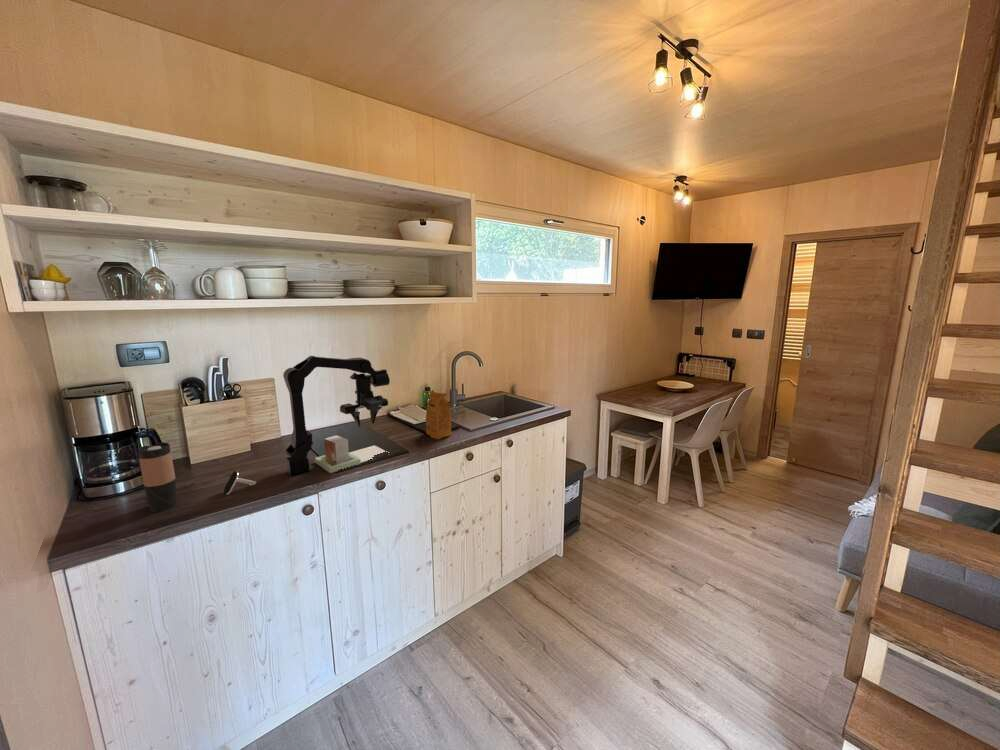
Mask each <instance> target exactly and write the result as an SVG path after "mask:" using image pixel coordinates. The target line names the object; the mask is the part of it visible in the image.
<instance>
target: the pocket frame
mask: <svg viewBox="0 0 1000 750" xmlns="http://www.w3.org/2000/svg"><path fill="white" fill-rule="evenodd" d="M314 463H315V464H316V465H318V466H319V467H321V468H322V469H324V470H325V471H326V472H328V473H330V474H332V473H336V472H339V471H341V470H340V469H342V470H345V469H347V467H348V468H350V467H351V466H352V467H355V466H358V465H360V464H361V459H359V458H358V457H356V456H354V455H353V454H351V453H349V461H347V462H343V463H340V464H337V465H333V466H332V465H330V464H329V463H327V462H326V456H325V454H323V455H321V456H317V457H314ZM354 465H355V466H354ZM361 465H362V464H361ZM344 468H345V469H344ZM338 470H339V471H338Z"/></svg>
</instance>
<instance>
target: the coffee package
mask: <svg viewBox="0 0 1000 750" xmlns="http://www.w3.org/2000/svg"><path fill="white" fill-rule="evenodd" d="M451 412H452V407H451V404H450V403H449V401H448V400H447V393H445V392H437V390H435V389H434V388H433V389H431V391H430V394H429V398H428V401H427V405H426V414H425V415H426V416H425V425H426V429H425V431H426V435H428V436H429V437H430V438H432V439H435V440H441V439H443V438H446V437H450V436H451V435H452V413H451Z"/></svg>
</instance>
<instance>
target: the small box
mask: <svg viewBox="0 0 1000 750" xmlns="http://www.w3.org/2000/svg"><path fill="white" fill-rule="evenodd" d="M323 441H324V455H325V456H326V462H327V463H329V464H331V465H337V464H340V463H343V462H347V461H350V460H349V452H350V451H349V439H348V438H345V437H342V436H339V435H337V434H336V435H333V436H330V437H326V438H324V439H323Z"/></svg>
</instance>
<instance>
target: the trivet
mask: <svg viewBox="0 0 1000 750" xmlns="http://www.w3.org/2000/svg"><path fill="white" fill-rule="evenodd" d="M385 451H386V450H384V449H382V448H380V447H379V446H377V445H371V446H368V447H364V448H360V449H357V450H353V451H351V452H350V451H349V453H351V454H353V455H354V456H356V457H358V458H359V459H361V463H364V462H368V460H369V461H371V460H370V459H372V460H374V459H373V458H372V457H374V455H377V454H380V453H383V452H385ZM386 452H388V451H386ZM388 453H390V452H388Z"/></svg>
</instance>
